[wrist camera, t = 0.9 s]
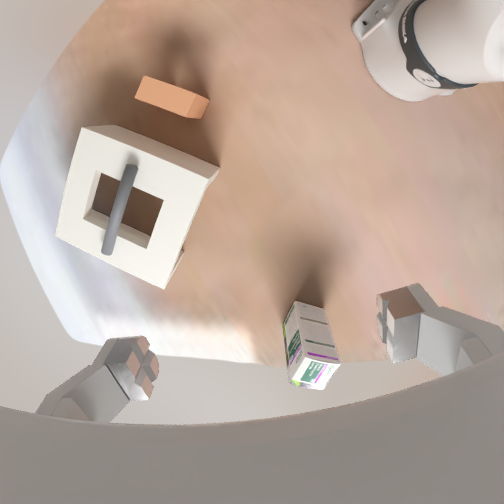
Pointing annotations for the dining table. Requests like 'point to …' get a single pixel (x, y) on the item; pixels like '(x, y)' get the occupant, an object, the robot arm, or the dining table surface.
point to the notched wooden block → (171, 98)
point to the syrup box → (309, 347)
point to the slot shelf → (149, 179)
